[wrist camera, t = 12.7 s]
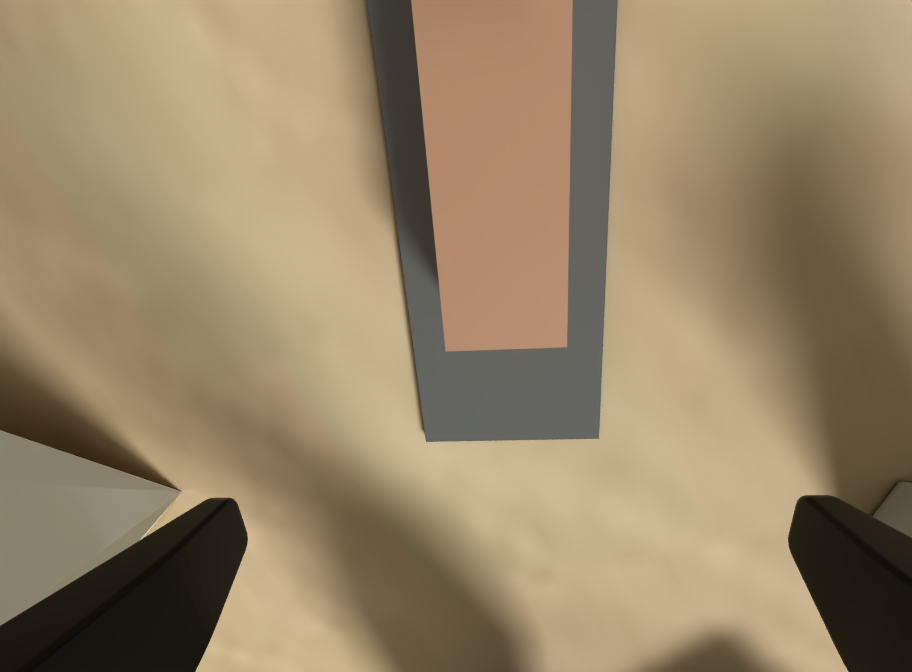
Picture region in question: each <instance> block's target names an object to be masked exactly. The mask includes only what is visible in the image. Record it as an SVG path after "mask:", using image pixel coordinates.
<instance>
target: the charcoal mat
mask: <svg viewBox="0 0 912 672" xmlns="http://www.w3.org/2000/svg"><path fill="white" fill-rule="evenodd" d="M367 6H368V13H369V21H370V28H371V36H372V43H373V51H374V58H375V65H376V73H377V80H378V88H379V95H380V103H381V110H382V118H383V125H384V132H385V140H386V147H387V155H388V162H389V170H390V177H391V185H392V192H393V199H394V207H395V214H396V222H397V229H398V237H399V244H400V252H401V259H402V266H403V274H404V281H405V289H406V296H407V304H408V311H409V319H410V326H411V333H412V341H413V348H414V356H415V363H416V371H417V378H418V385H419V393H420V400H421V408H422V415H423V423H424V430H425V438H426V442H437V441H492V440H547V439H599V424H600V400H601V377H602V353H603V329H604V306H605V282H606V258H607V235H608V211H609V187H610V164H611V140H612V116H613V93H614V69H615V45H616V22H617V0H573V11H572V74H571V136H570V199H569V261H568V323H567V347H561V348H532V349H504V350H475V351H447V352H446V351H445V341H444V330H443V320H442V310H441V300H440V290H439V279H438V269H437V259H436V249H435V239H434V228H433V218H432V208H431V198H430V187H429V177H428V167H427V157H426V147H425V136H424V126H423V116H422V106H421V96H420V85H419V75H418V65H417V55H416V44H415V34H414V24H413V14H412V4H411V0H367Z"/></svg>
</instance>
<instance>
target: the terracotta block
mask: <svg viewBox="0 0 912 672" xmlns="http://www.w3.org/2000/svg"><path fill="white" fill-rule="evenodd" d="M411 4H412V14H413V24H414V34H415V44H416V55H417V65H418V75H419V85H420V96H421V106H422V116H423V126H424V136H425V147H426V157H427V167H428V177H429V187H430V198H431V208H432V218H433V228H434V239H435V249H436V259H437V269H438V279H439V290H440V300H441V310H442V320H443V330H444V341H445V351H446V352H447V351H475V350H504V349H532V348H561V347H567V323H568V261H569V199H570V136H571V74H572V11H573V0H411Z"/></svg>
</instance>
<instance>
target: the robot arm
mask: <svg viewBox="0 0 912 672" xmlns="http://www.w3.org/2000/svg"><path fill="white" fill-rule="evenodd" d="M247 541H248V536H247V531H246V528H245V525H244V522H243V519H242V516H241V513H240V510H239V507H238V504H237V502H236V501H235V500H234V499H232V498H210V499H207V500H205V501H203V502H202V503H200V504H199V505H197V506H195V507H194V508H192V509H190V510H189V511H187V512H185V513H184V514H182V515H181V516H179V517H177V518H176V519H174V520H172V521H171V522H169V523H167V524H166V525H164V526H163V527H161V528H159V529H158V530H156V531H154V532H153V533H151V534H149V535H148V536H146V537H145V538H143V539H141V540H140V541H138V542H136V543H135V544H133V545H131V546H130V547H128V548H126V549H125V550H123V551H122V552H120V553H118V554H117V555H115V556H113V557H112V558H110V559H108V560H107V561H105V562H104V563H102V564H100V565H99V566H97V567H95V568H94V569H92V570H90V571H89V572H87V573H86V574H84V575H82V576H81V577H79V578H77V579H76V580H74V581H72V582H71V583H69V584H68V585H66V586H64V587H63V588H61V589H59V590H58V591H56V592H54V593H53V594H51V595H50V596H48V597H46V598H45V599H43V600H41V601H40V602H38V603H36V604H35V605H33V606H32V607H30V608H28V609H27V610H25V611H23V612H22V613H20V614H18V615H17V616H15V617H13V618H12V619H10V620H9V621H7V622H5V623H4V624H2V625H0V672H195V671H196V669H197V667H198V665H199V663H200V661H201V659H202V657H203V654H204V652H205V650H206V648H207V646H208V644H209V642H210V639H211V637H212V635H213V632H214V630H215V627H216V625H217V622H218V620H219V617H220V615H221V612H222V610H223V607H224V604H225V602H226V599H227V597H228V594H229V592H230V589H231V586H232V584H233V581H234V579H235V576H236V574H237V571H238V568H239V566H240V563H241V561H242V558H243V555H244V553H245V550H246V547H247ZM788 543H789V548H790V552H791V554H792V557H793V559H794V561H795V563H796V565H797V567H798V569H799V571H800V573H801V576H802V578H803V580H804V582H805V584H806V586H807V588H808V590H809V592H810V594H811V597H812V599H813V601H814V603H815V605H816V607H817V609H818V611H819V613H820V616H821V618H822V620H823V622H824V624H825V626H826V628H827V630H828V632H829V634H830V637H831V639H832V641H833V643H834V645H835V647H836V649H837V651H838V653H839V655H840V657H841V659H842V661H843V663H844V664H845V666H846V668H847V670H848V672H912V538H911V537H910V536H908V535H906V534H904V533H902V532H900V531H898V530H896V529H895V528H893V527H891V526H889V525H887V524H885V523H883V522H881V521H880V520H878V519H876V518H874V517H872V516H870V515H868V514H866V513H865V512H863V511H861V510H859V509H857V508H855V507H853V506H851V505H850V504H848V503H846V502H844V501H842V500H840V499H838V498H836V497H834V496H829V495H805V496H802V497H800V498H799V499H798V500H797V503H796V507H795V511H794V515H793V519H792V523H791V527H790V531H789V536H788Z"/></svg>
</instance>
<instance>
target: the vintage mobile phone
mask: <svg viewBox="0 0 912 672" xmlns="http://www.w3.org/2000/svg"><path fill="white" fill-rule="evenodd" d="M872 517H874V518H876V519H878V520H880V521H881V522H883V523H885V524H887V525H889V526H891V527H893V528H895V529H896V530H898V531H900V532H902V533H904V534H906V535H908V536H910V537H911V538H912V483H909V482H898V483H897V485H896V486H895V487H894V489H893V490H892V491H891V492H890V494H889V495H888V496H887V498H886V499H885V500H884V501H883V503H882V504H881V505H880V507H879V508H878V509H877V510H876V512H875V513H874V514H873V516H872Z"/></svg>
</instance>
